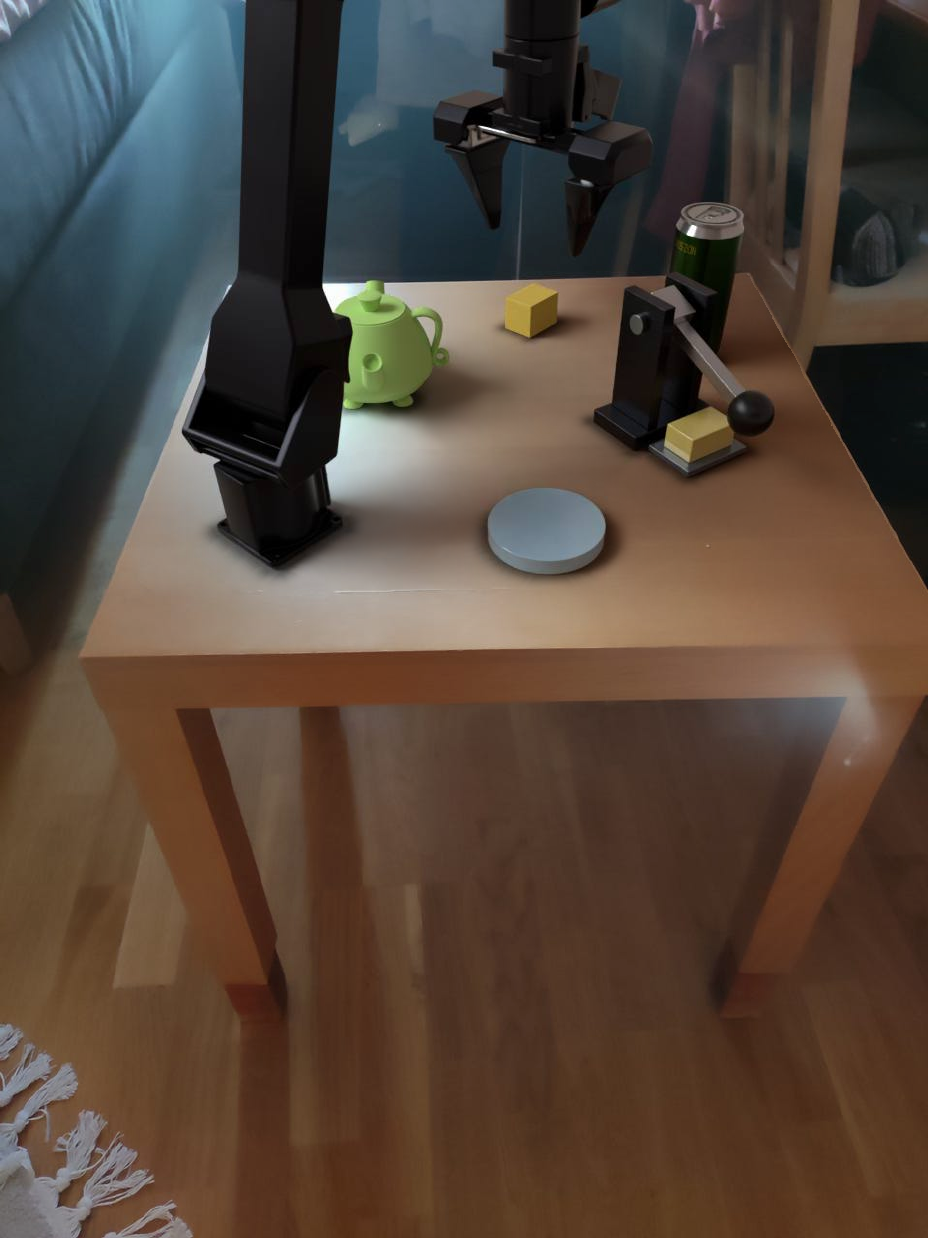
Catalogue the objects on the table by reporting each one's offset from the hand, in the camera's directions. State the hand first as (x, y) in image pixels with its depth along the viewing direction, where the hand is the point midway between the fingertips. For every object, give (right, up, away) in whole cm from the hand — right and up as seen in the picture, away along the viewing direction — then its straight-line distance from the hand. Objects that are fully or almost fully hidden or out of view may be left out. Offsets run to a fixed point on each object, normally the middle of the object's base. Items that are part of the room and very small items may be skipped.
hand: (533, 241), depth 78 cm
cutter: (+9, -17, -7) cm, 20 cm away
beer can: (+14, -9, +1) cm, 17 cm away
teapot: (-14, -14, -2) cm, 20 cm away
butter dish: (+12, -20, -10) cm, 25 cm away
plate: (-1, -27, -17) cm, 32 cm away
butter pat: (0, -5, +6) cm, 8 cm away
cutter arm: (+11, -16, -13) cm, 23 cm away
